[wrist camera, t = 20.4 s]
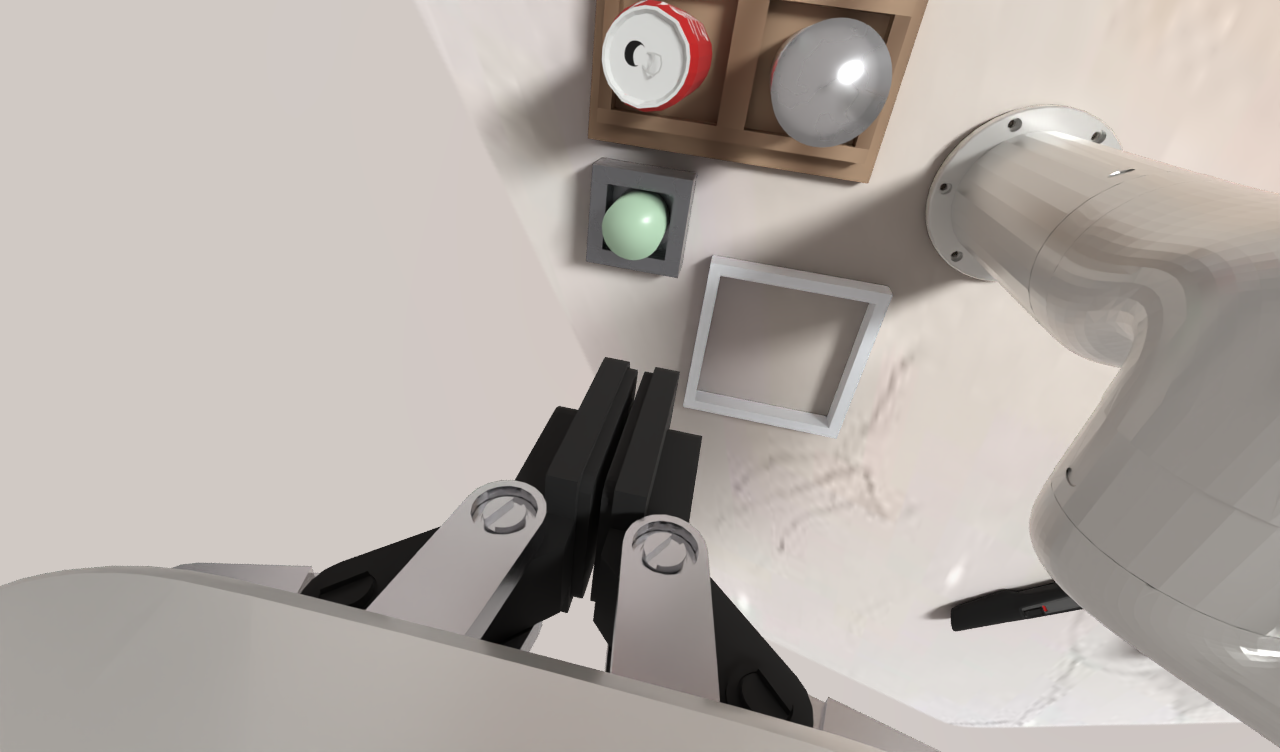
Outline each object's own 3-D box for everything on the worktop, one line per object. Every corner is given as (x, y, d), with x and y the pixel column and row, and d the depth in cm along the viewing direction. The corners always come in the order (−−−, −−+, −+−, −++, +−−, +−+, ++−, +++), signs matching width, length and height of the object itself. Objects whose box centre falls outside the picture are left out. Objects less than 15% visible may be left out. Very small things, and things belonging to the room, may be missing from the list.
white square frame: (888, 286, 47) (892, 295, 45) (834, 426, 55) (836, 438, 53) (712, 254, 48) (710, 262, 46) (685, 395, 56) (682, 406, 54)
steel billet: (870, 31, 37) (910, 25, 27) (842, 127, 40) (869, 155, 30) (781, 19, 38) (787, 10, 28) (760, 115, 41) (759, 138, 31)
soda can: (725, 30, 39) (712, 25, 28) (693, 110, 41) (670, 131, 31) (653, -4, 38) (614, -22, 28) (626, 78, 41) (581, 89, 31)
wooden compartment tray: (932, -25, 36) (944, -30, 34) (865, 180, 43) (871, 187, 41) (605, -66, 38) (595, -73, 36) (591, 136, 45) (582, 141, 43)
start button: (673, 192, 45) (666, 204, 42) (665, 249, 48) (657, 264, 44) (616, 183, 45) (604, 194, 42) (611, 239, 48) (599, 254, 45)
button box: (697, 173, 45) (693, 180, 42) (681, 266, 49) (677, 278, 47) (602, 157, 46) (592, 164, 43) (595, 250, 50) (586, 261, 47)
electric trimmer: (939, 596, 64) (946, 620, 62) (1095, 564, 57) (1110, 589, 55) (951, 616, 65) (958, 641, 63) (1105, 587, 59) (1120, 612, 56)
